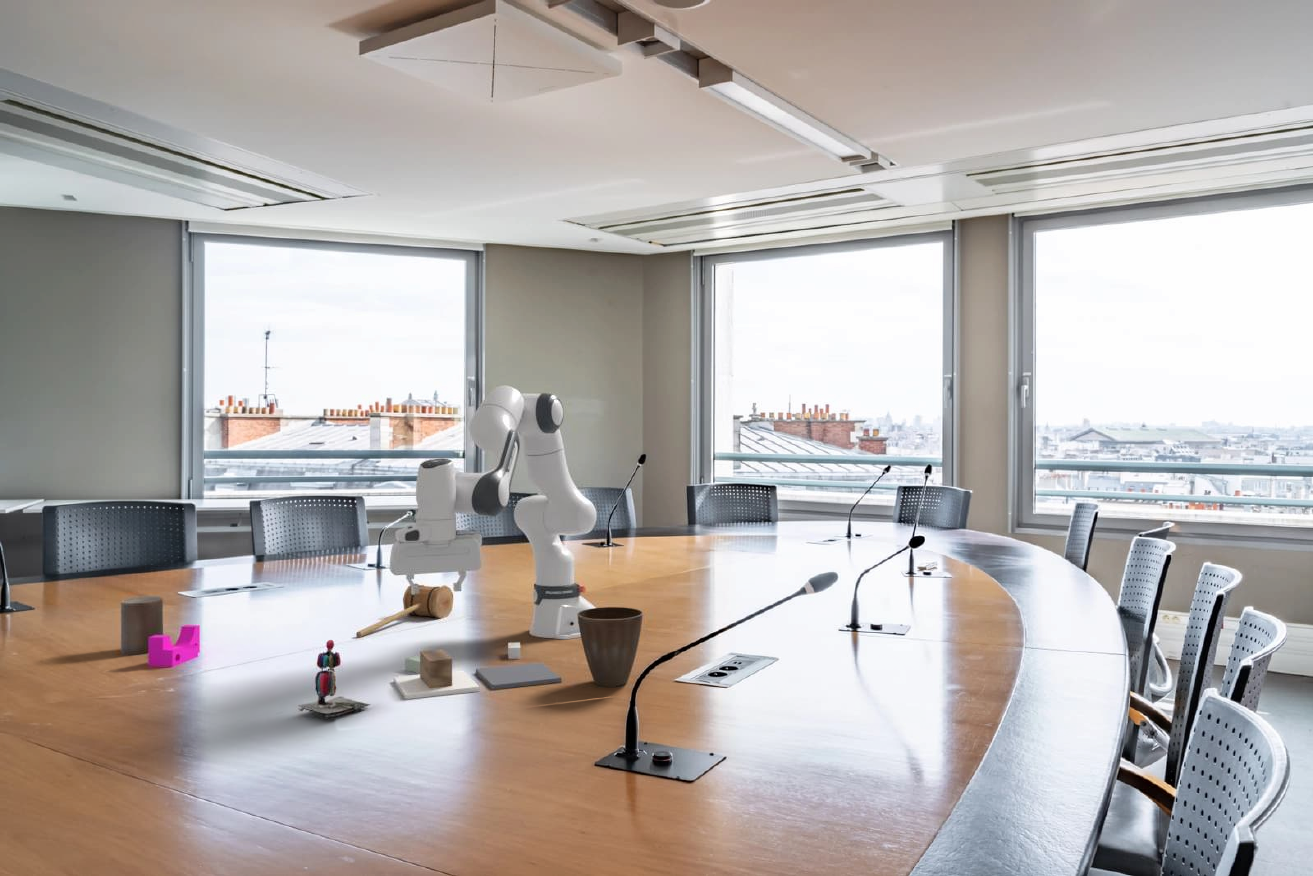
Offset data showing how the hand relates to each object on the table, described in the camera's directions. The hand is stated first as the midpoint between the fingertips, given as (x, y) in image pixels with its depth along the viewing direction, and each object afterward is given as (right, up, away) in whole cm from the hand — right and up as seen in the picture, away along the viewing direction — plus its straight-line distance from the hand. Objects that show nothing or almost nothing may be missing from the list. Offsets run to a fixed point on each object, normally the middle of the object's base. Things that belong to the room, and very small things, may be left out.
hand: (436, 592), depth 215 cm
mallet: (-25, -22, +66) cm, 74 cm away
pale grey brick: (+13, -21, +28) cm, 38 cm away
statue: (-16, -22, -20) cm, 34 cm away
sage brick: (-8, -21, +14) cm, 26 cm away
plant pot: (+39, -21, +3) cm, 45 cm away
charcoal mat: (+17, -21, +7) cm, 28 cm away
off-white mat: (0, -21, 0) cm, 21 cm away
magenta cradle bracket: (-70, -21, +24) cm, 77 cm away
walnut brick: (0, -20, 0) cm, 20 cm away
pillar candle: (-84, -21, +32) cm, 92 cm away
